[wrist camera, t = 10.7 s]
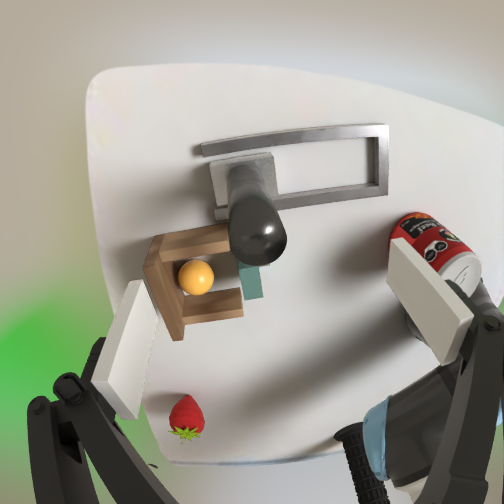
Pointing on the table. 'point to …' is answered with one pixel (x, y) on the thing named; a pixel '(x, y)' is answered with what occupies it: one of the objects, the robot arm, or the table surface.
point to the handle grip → (361, 466)
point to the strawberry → (186, 418)
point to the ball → (196, 277)
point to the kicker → (250, 214)
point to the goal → (167, 285)
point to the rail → (307, 136)
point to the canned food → (440, 250)
